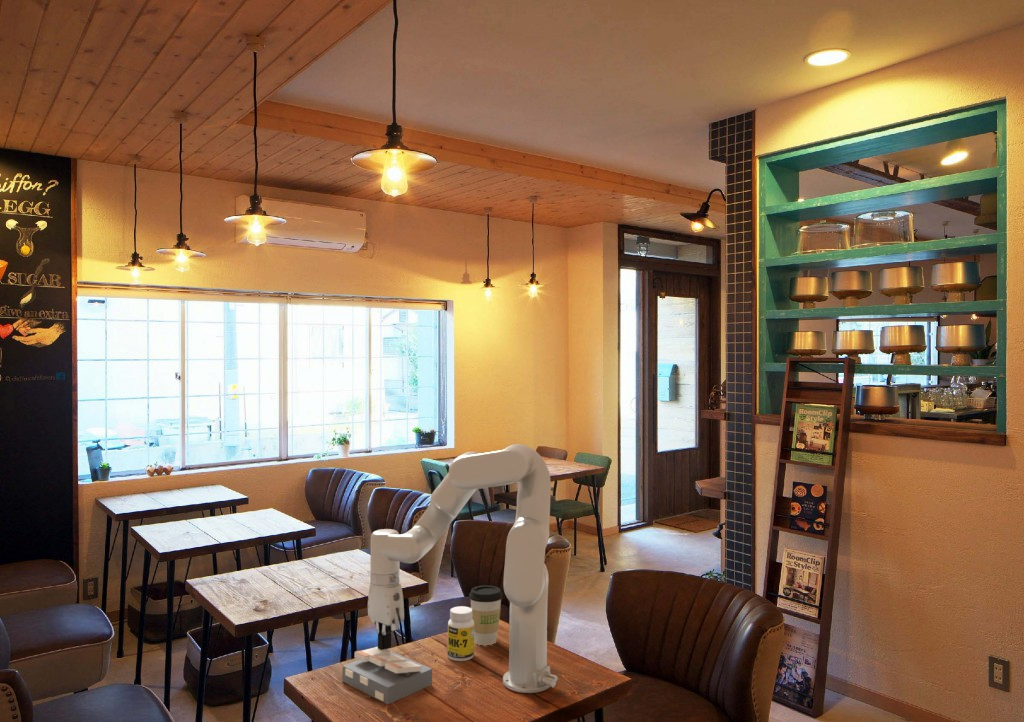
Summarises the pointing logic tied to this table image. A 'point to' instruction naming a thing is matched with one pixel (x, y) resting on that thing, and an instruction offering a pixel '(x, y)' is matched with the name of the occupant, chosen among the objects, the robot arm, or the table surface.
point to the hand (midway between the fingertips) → (384, 648)
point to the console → (385, 680)
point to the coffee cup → (485, 613)
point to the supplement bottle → (460, 634)
